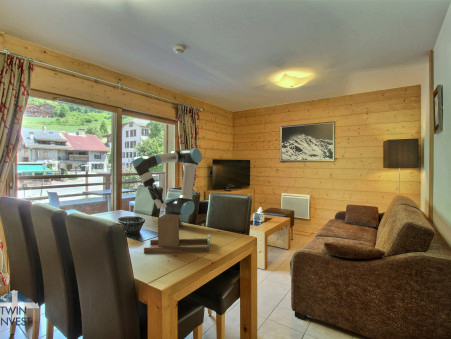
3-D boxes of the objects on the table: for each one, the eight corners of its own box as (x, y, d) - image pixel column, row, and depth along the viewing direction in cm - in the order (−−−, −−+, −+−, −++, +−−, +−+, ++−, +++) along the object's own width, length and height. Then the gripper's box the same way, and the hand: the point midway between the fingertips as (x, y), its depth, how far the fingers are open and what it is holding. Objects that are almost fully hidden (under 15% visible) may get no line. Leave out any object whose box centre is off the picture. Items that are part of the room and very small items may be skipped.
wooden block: (173, 251, 143) (172, 218, 142) (157, 250, 145) (156, 217, 144) (179, 245, 153) (179, 214, 152) (165, 244, 155) (164, 213, 154)
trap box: (150, 244, 156) (150, 235, 156) (210, 243, 158) (210, 233, 157) (143, 253, 141) (143, 243, 141) (209, 251, 143) (209, 241, 142)
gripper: (139, 183, 170) (153, 210, 172) (145, 180, 148) (161, 210, 150) (149, 179, 174) (162, 205, 176) (156, 174, 152) (172, 204, 154)
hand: (162, 207), depth 163 cm, fingers open, 13 cm apart
